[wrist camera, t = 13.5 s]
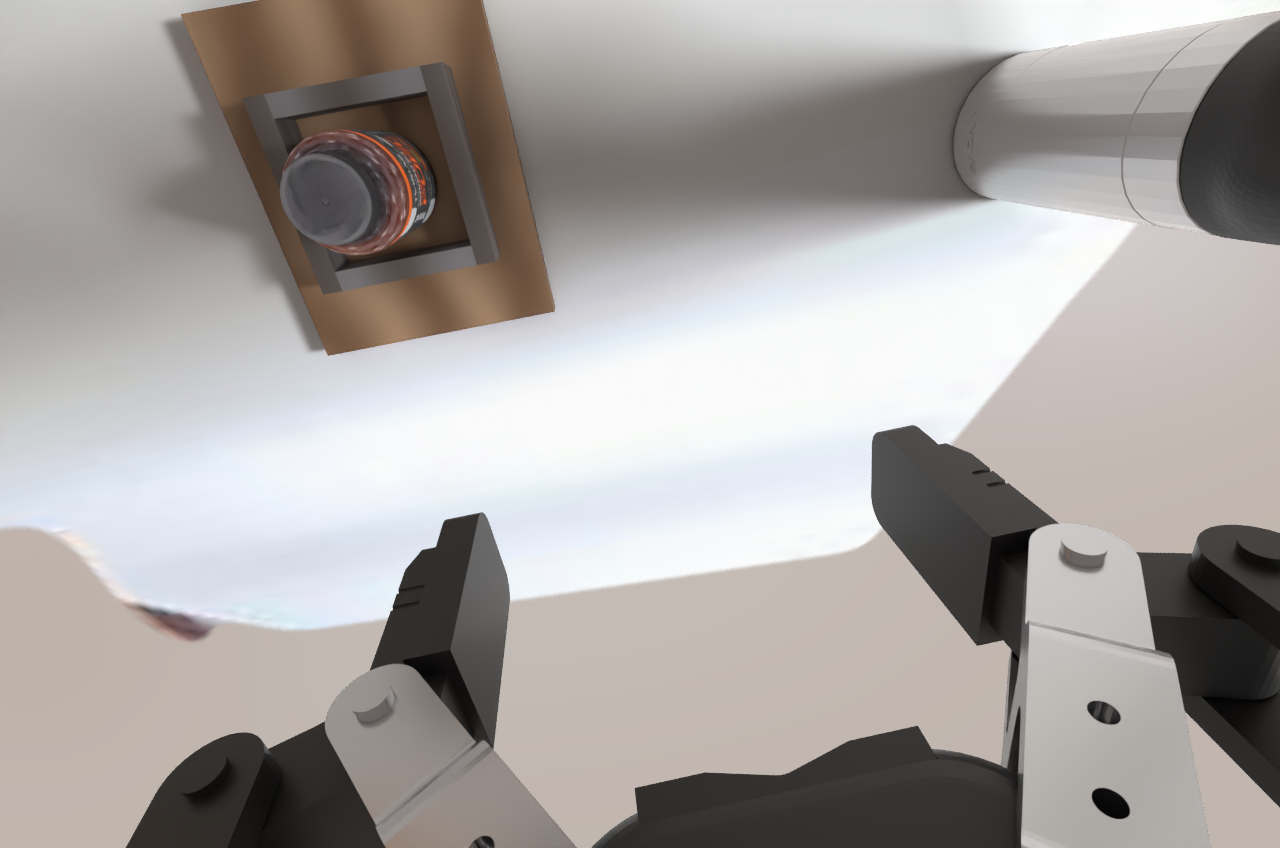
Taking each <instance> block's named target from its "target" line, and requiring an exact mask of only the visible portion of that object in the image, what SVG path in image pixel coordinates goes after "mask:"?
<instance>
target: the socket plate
mask: <svg viewBox="0 0 1280 848" xmlns="http://www.w3.org/2000/svg"><path fill="white" fill-rule="evenodd" d="M181 16H182V19H183V21H184V23H185V25H186V28H187V30H188V32H189V35H190V37H191V39H192V42H193V44H194V46H195V49H196V51H197V53H198V56H199V58H200V60H201V63H202V65H203V67H204V70H205V72H206V74H207V76H208V79H209V81H210V83H211V86H212V88H213V90H214V93H215V95H216V97H217V100H218V102H219V104H220V107H221V109H222V111H223V114H224V116H225V118H226V120H227V123H228V125H229V127H230V130H231V132H232V134H233V137H234V139H235V141H236V144H237V146H238V148H239V151H240V153H241V155H242V158H243V160H244V162H245V165H246V167H247V169H248V171H249V174H250V176H251V178H252V181H253V183H254V185H255V188H256V190H257V192H258V195H259V197H260V199H261V202H262V204H263V206H264V209H265V211H266V213H267V215H268V218H269V220H270V222H271V225H272V227H273V229H274V232H275V234H276V236H277V239H278V241H279V243H280V246H281V248H282V250H283V253H284V255H285V257H286V259H287V262H288V264H289V266H290V269H291V271H292V273H293V276H294V278H295V280H296V283H297V285H298V287H299V290H300V292H301V294H302V297H303V299H304V301H305V304H306V306H307V308H308V310H309V313H310V315H311V317H312V320H313V322H314V324H315V327H316V329H317V331H318V334H319V336H320V338H321V341H322V343H323V345H324V348H325V350H326V352H327V354H328V356H329V355H334V354H339V353H344V352H350V351H355V350H360V349H365V348H370V347H375V346H380V345H385V344H391V343H396V342H401V341H406V340H411V339H416V338H421V337H426V336H431V335H437V334H442V333H447V332H452V331H457V330H462V329H467V328H472V327H477V326H483V325H488V324H493V323H498V322H503V321H508V320H513V319H518V318H523V317H529V316H534V315H539V314H544V313H549V312H554V311H555V305H554V301H553V296H552V292H551V288H550V284H549V279H548V275H547V271H546V267H545V262H544V258H543V254H542V250H541V245H540V241H539V237H538V233H537V229H536V224H535V220H534V216H533V212H532V207H531V203H530V199H529V195H528V190H527V186H526V182H525V178H524V174H523V169H522V165H521V161H520V157H519V152H518V148H517V144H516V140H515V135H514V131H513V127H512V123H511V118H510V114H509V110H508V106H507V102H506V97H505V93H504V89H503V85H502V80H501V76H500V72H499V68H498V63H497V59H496V55H495V51H494V46H493V42H492V38H491V34H490V30H489V25H488V21H487V17H486V13H485V8H484V4H483V0H258V1H253V2H247V3H242V4H236V5H230V6H225V7H219V8H213V9H208V10H202V11H196V12H191V13H185V14H181ZM342 129H343V130H347V129H349V130H379V131H382V130H383V131H389V132H392V133H395V134H397V135H400V136H402V137H404V138H406V139H408V140H409V141H411V142H412V143H413V144H415V145H416V146H417V147H418V148H419V149H420V150H421V151H422V152H423V153H424V154H425V156H426V157H427V159H428V160H429V162H430V164H431V166H432V168H433V170H434V173H435V176H436V180H437V189H438V193H437V200H436V205H435V207H434V210H433V212H432V213H431V215H430V217H429V218H428V219H427V220H426V222H425V223H424V224H423V225H421V226H420V227H419V228H417V229H416V230H414V231H413V232H411V233H409V234H408V235H406V236H405V237H403V238H401V239H400V240H398V241H396V242H395V243H393V244H392V245H390V246H388V247H387V248H385V249H383V250H381V251H378V252H375V253H372V254H367V255H347V254H342V253H338V252H335V251H332V250H330V249H328V248H325V247H324V246H322V245H320V244H318V243H317V242H315V241H314V240H312V239H310V238H308V237H306V236H305V235H304V234H302V233H301V232H300V231H299V230H298V229H297V228H295V227H294V225H293V224H292V223H291V221H290V220H289V219H288V217H287V215H286V213H285V212H284V209H283V206H282V203H281V197H280V182H281V179H282V176H283V174H282V173H283V170H284V166H285V163H286V161H287V158H288V156H289V154H290V153H291V152H292V150H293V149H294V148H295V146H297V145H298V144H299V143H300V142H301V141H302V140H304V139H305V138H307V137H308V136H311V135H313V134H315V133H319V132H322V131H328V130H342ZM381 129H382V130H381Z"/></svg>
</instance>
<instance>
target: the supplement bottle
mask: <svg viewBox="0 0 1280 848" xmlns="http://www.w3.org/2000/svg"><path fill="white" fill-rule="evenodd" d="M381 130H382V129H381ZM282 174H283V176H282V179H281V182H280V197H281V203H282V206H283V209H284V212H285V213H286V215H287V217H288V219H289V220H290V221H291V223H292V224H293V225H294V227H295V228H297V229H298V230H299V231H300V232H301V233H302V234H304V235H305V236H306V237H308V238H310V239H312V240H314V241H315V242H317V243H318V244H320V245H322V246H324V247H325V248H328V249H330V250H332V251H335V252H338V253H342V254H347V255H367V254H372V253H375V252H378V251H381V250H383V249H385V248H387V247H388V246H390V245H392V244H393V243H395V242H396V241H398V240H400V239H401V238H403V237H405V236H406V235H408V234H409V233H411V232H413V231H414V230H416V229H417V228H419V227H420V226H421V225H423V224H424V223H425V222H426V220H427V219H428V218H429V217H430V215H431V213H432V212H433V210H434V207H435V205H436V200H437V193H438V189H437V180H436V176H435V173H434V170H433V168H432V166H431V164H430V162H429V160H428V159H427V157H426V156H425V154H424V153H423V152H422V151H421V150H420V149H419V148H418V147H417V146H416V145H415V144H413V143H412V142H411V141H409V140H408V139H406V138H404V137H402V136H400V135H397V134H395V133H392V132H389V131H383V130H382V131H379V130H349V129H347V130H343V129H342V130H328V131H322V132H319V133H315V134H313V135H311V136H308V137H307V138H305V139H304V140H302V141H301V142H300V143H299V144H298V145H297V146H295V148H294V149H293V150H292V152H291V153H290V154H289V156H288V158H287V161H286V163H285V166H284V170H283V173H282Z"/></svg>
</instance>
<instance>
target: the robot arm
mask: <svg viewBox="0 0 1280 848" xmlns="http://www.w3.org/2000/svg"><path fill="white" fill-rule="evenodd" d="M953 144H954V159H955V163H956V167H957V170H958V172H959V174H960V176H961V178H962V180H963V181H964V182H965V184H966V185H967V186H968V187H969V188H970V189H971V190H973V191H974V192H976V193H977V194H979V195H981V196H984V197H987V198H991V199H996V200H1002V201H1008V202H1014V203H1020V204H1025V205H1031V206H1037V207H1043V208H1049V209H1055V210H1061V211H1067V212H1073V213H1080V214H1086V215H1092V216H1098V217H1104V218H1110V219H1116V220H1122V221H1129V222H1135V223H1141V224H1147V225H1153V226H1159V227H1165V228H1174V229H1179V230H1185V231H1191V232H1198V233H1204V234H1210V235H1216V236H1220V237H1225V238H1231V239H1238V240H1245V241H1252V242H1260V243H1266V244H1274V245H1280V11H1276V12H1270V13H1264V14H1257V15H1251V16H1245V17H1241V18H1235V19H1229V20H1223V21H1217V22H1210V23H1204V24H1198V25H1192V26H1186V27H1179V28H1173V29H1167V30H1161V31H1155V32H1148V33H1142V34H1136V35H1130V36H1124V37H1117V38H1111V39H1105V40H1099V41H1093V42H1087V43H1080V44H1073V45H1066V46H1060V47H1055V48H1049V49H1043V50H1037V51H1031V52H1026V53H1020V54H1017V55H1015V56H1013V57H1010V58H1008V59H1005V60H1004V61H1002V62H1001V63H1000V64H998V65H997V66H995V67H994V68H992V69H991V70H990V71H989V72H988V73H987V74H986V75H985V76H984V77H983V78H982V79H981V80H980V81H979V82H978V83H977V85H976V86H975V87H974V89H973V90H972V91H971V93H970V94H969V96H968V98H967V100H966V102H965V103H964V105H963V107H962V109H961V112H960V115H959V118H958V121H957V124H956V128H955V134H954V141H953ZM871 498H872V505H873V509H874V512H875V515H876V517H877V519H878V521H879V523H880V525H881V526H882V527H883V529H884V530H885V531H886V532H887V534H888V535H889V536H890V537H891V539H892V540H893V541H894V542H895V544H896V545H897V546H898V547H899V549H900V550H901V551H902V552H903V554H904V555H905V556H906V557H907V559H908V560H909V561H910V562H911V564H912V565H913V566H914V567H915V569H916V570H917V571H918V572H919V574H920V575H921V576H922V577H923V579H924V580H925V581H926V582H927V584H928V585H929V586H930V587H931V589H932V590H933V591H934V592H935V594H936V595H937V596H938V597H939V599H940V600H941V601H942V602H943V604H944V605H945V606H946V607H947V609H948V610H949V611H950V612H951V614H952V615H953V616H954V617H955V619H956V620H957V621H958V622H959V623H960V625H961V626H962V627H963V628H964V630H965V631H966V632H967V634H968V635H969V636H970V637H971V639H972V640H973V641H974V642H975V644H976V645H977V646H978V645H983V644H988V643H992V642H997V641H1001V640H1004V641H1005V643H1006V644H1007V645H1008V646H1009V647H1010V648H1011V652H1010V658H1009V665H1008V679H1007V693H1006V707H1005V722H1004V736H1003V750H1002V760H1001V766H1000V765H998V764H995V763H993V762H990V761H987V760H984V759H981V758H979V757H974V756H971V755H967V754H963V753H959V752H953V751H946V750H937V749H931V747H930V746H929V744H928V742H927V741H926V739H925V737H924V736H923V734H922V732H921V731H920V729H919V727H918V726H915V727H910V728H905V729H901V730H897V731H892V732H887V733H883V734H878V735H874V736H870V737H865V738H860V739H856V740H851V741H848V742H846V743H844V744H842V745H840V746H839V747H837V748H835V749H833V750H831V751H829V752H827V753H826V754H824V755H822V756H820V757H818V758H816V759H814V760H812V761H811V762H809V763H807V764H805V765H803V766H801V767H800V768H798V769H796V770H794V771H792V772H790V773H787V774H785V775H778V776H777V775H776V776H775V775H751V774H725V773H702V774H697V775H692V776H688V777H683V778H679V779H674V780H670V781H665V782H660V783H656V784H651V785H647V786H642V787H638V788H635V794H636V803H637V812H638V813H636V814H634V815H633V816H631V817H629V818H627V819H626V820H624V821H623V822H621V823H620V824H618V825H617V826H616V827H614V828H613V829H611V830H610V831H609V832H608V833H607V834H605V835H604V836H603V837H602V838H601V839H600V840H599V841H598V842H596V843H595V844H594V845H593V847H592V848H1211V844H1210V839H1209V834H1208V829H1207V824H1206V819H1205V813H1204V809H1203V803H1202V798H1201V793H1200V788H1199V782H1198V777H1197V772H1196V767H1195V762H1194V757H1193V752H1192V747H1191V741H1190V737H1189V731H1188V726H1187V721H1186V716H1185V711H1186V713H1187V714H1188V715H1189V716H1190V717H1191V718H1192V719H1194V721H1195V722H1196V723H1197V724H1198V725H1199V726H1200V727H1201V728H1202V729H1203V730H1204V731H1205V732H1206V733H1207V734H1208V735H1209V736H1210V737H1211V738H1212V739H1213V740H1214V741H1215V742H1216V743H1217V744H1218V745H1219V746H1220V747H1221V748H1222V749H1223V750H1224V751H1225V752H1226V753H1227V754H1228V755H1229V756H1230V757H1231V758H1232V759H1233V760H1234V761H1235V762H1236V763H1237V764H1238V765H1239V767H1240V768H1242V770H1244V772H1245V773H1246V774H1248V776H1250V778H1251V779H1252V780H1253V781H1254V782H1255V783H1256V784H1257V785H1258V786H1259V787H1260V788H1261V789H1262V790H1263V791H1264V792H1265V793H1266V794H1267V795H1268V796H1269V797H1270V798H1271V799H1272V800H1273V801H1274V802H1275V803H1276V804H1277V805H1278V806H1279V807H1280V533H1277V532H1274V531H1270V530H1266V529H1262V528H1257V527H1251V526H1243V525H1222V526H1215V527H1211V528H1208V529H1206V530H1204V531H1203V532H1201V533H1200V534H1199V536H1198V538H1197V541H1196V544H1195V547H1194V550H1193V553H1192V554H1186V553H1139V552H1136V551H1135V550H1134V549H1133V548H1132V547H1131V546H1130V545H1128V544H1127V543H1126V542H1125V541H1123V540H1122V539H1120V538H1118V537H1117V536H1115V535H1112V534H1110V533H1108V532H1105V531H1103V530H1100V529H1097V528H1094V527H1090V526H1085V525H1079V524H1069V523H1068V524H1067V523H1061V524H1059V523H1057V522H1056V521H1055V520H1054V519H1052V518H1051V517H1050V516H1049V515H1047V514H1046V513H1045V512H1044V511H1042V510H1041V509H1040V508H1039V507H1037V506H1036V505H1035V504H1033V503H1032V502H1031V501H1030V500H1028V499H1027V498H1026V497H1024V495H1022V494H1021V493H1020V492H1019V491H1017V490H1016V489H1015V488H1014V487H1012V486H1011V485H1010V484H1009V483H1008V484H1006V483H1005V480H1004V479H1002V478H1001V477H1000V476H999V475H997V474H996V473H995V472H994V471H992V472H990V469H989V467H987V466H986V465H984V464H983V463H982V462H981V461H980V460H979V459H977V458H976V457H975V456H974V455H972V454H971V453H968V452H966V451H963V450H961V449H958V448H956V447H953V446H951V445H949V444H946V443H945V444H940V445H938V444H937V443H936V442H935V441H934V440H932V439H931V438H930V437H929V436H928V435H927V434H925V433H924V432H923V431H922V430H921V429H919V428H918V427H917V426H914V425H911V426H906V427H901V428H897V429H892V430H887V431H882V432H877V433H876V434H875V435H874V437H873V441H872V484H871ZM509 603H510V593H509V584H508V579H507V574H506V571H505V568H504V565H503V562H502V559H501V556H500V553H499V550H498V548H497V545H496V542H495V539H494V536H493V533H492V530H491V527H490V525H489V522H488V519H487V517H486V516H485V514H484V513H477V514H472V515H467V516H462V517H457V518H452V519H447V520H445V521H444V523H443V526H442V529H441V532H440V536H439V539H438V542H437V546H436V547H435V548H430V549H425V550H422V551H421V552H420V553H419V555H418V556H417V557H416V558H415V559H414V560H413V562H412V563H411V564H410V565H409V566H408V567H407V569H406V570H405V573H404V576H403V578H402V581H401V584H400V587H399V594H397V595H396V598H395V601H394V604H393V611H391V612H390V615H389V618H388V621H387V624H386V627H385V629H384V632H383V635H382V638H381V641H380V644H379V646H378V649H377V652H376V655H375V658H374V661H373V663H372V666H371V669H370V671H369V672H367V673H365V674H363V675H362V676H360V677H358V678H357V679H355V680H354V681H353V682H351V683H350V684H349V685H348V686H347V687H346V688H345V689H344V690H343V691H342V692H341V693H340V694H339V695H338V696H337V698H336V699H335V700H334V702H333V703H332V705H331V707H330V709H329V711H328V713H327V716H326V721H325V722H323V723H321V724H319V725H318V726H316V727H314V728H311V729H309V730H307V731H305V732H303V733H301V734H299V735H297V736H295V737H293V738H291V739H288V740H286V741H284V742H282V743H280V744H278V745H276V746H274V747H271V748H269V749H267V747H266V746H265V744H264V743H263V742H262V740H261V739H260V738H259V737H258V736H256V735H254V734H251V733H235V734H230V735H227V736H224V737H221V738H219V739H217V740H214V741H213V742H211V743H209V744H207V745H205V746H203V747H202V748H200V749H199V750H197V751H196V752H194V753H193V754H192V755H190V756H189V757H188V758H186V759H185V760H184V761H183V762H182V763H181V764H180V765H179V766H177V767H176V768H175V770H174V771H173V772H172V773H171V774H170V775H169V776H168V777H167V778H166V780H165V781H164V782H163V783H162V785H161V786H160V788H159V789H158V791H157V793H156V794H155V796H154V798H153V800H152V801H151V803H150V805H149V807H148V809H147V811H146V812H145V814H144V816H143V818H142V820H141V821H140V823H139V825H138V827H137V829H136V830H135V832H134V834H133V836H132V838H131V840H130V841H129V843H128V845H127V847H126V848H577V847H576V846H575V845H574V844H573V843H572V841H571V840H570V839H569V838H568V837H567V836H566V834H565V833H564V832H563V831H562V830H561V828H560V827H559V826H558V825H557V824H556V823H555V821H554V820H553V819H552V818H551V817H550V816H549V814H548V813H547V812H546V811H545V810H544V809H543V807H542V806H541V805H540V804H539V803H538V801H537V800H536V799H535V798H534V797H533V796H532V794H531V793H530V792H529V791H528V790H527V788H526V787H525V786H524V785H523V784H522V783H521V781H520V780H519V779H518V778H517V777H516V776H515V774H514V773H513V772H512V771H511V770H510V768H509V767H508V766H507V765H506V764H505V763H504V762H503V760H502V759H501V758H500V757H499V756H498V754H497V753H496V752H495V751H494V750H493V747H494V739H495V730H496V721H497V712H498V703H499V694H500V685H501V675H502V667H503V657H504V648H505V639H506V630H507V621H508V612H509Z"/></svg>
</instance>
